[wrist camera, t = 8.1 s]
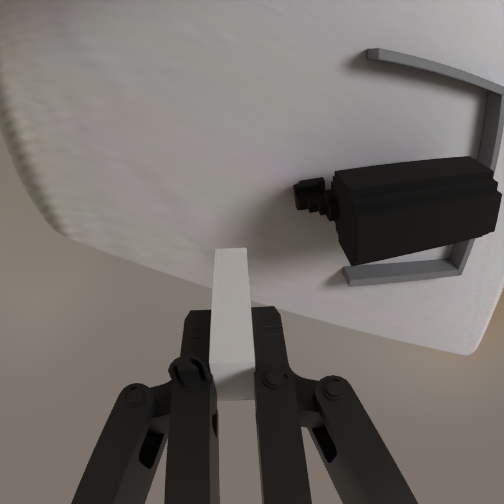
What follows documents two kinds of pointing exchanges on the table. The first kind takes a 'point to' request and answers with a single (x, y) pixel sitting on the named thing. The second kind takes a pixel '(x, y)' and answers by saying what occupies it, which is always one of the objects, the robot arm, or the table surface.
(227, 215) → the table surface
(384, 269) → the grey u-shaped frame
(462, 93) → the table surface
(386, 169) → the security camera
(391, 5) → the table surface
